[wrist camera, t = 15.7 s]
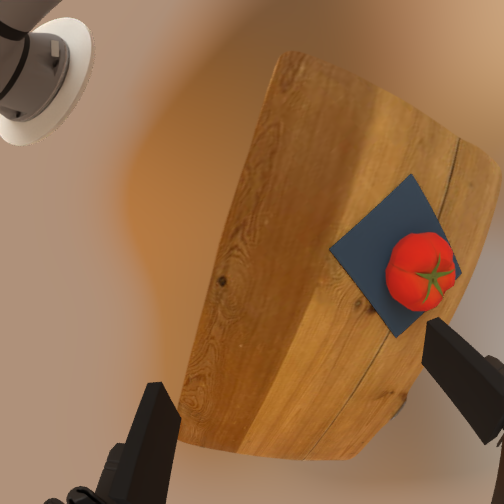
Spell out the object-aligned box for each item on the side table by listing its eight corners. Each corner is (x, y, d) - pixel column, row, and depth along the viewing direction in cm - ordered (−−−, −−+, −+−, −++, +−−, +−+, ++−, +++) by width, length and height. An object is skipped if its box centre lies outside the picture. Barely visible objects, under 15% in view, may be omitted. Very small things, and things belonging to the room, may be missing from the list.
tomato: (409, 307, 39) (434, 330, 32) (363, 275, 37) (387, 297, 30) (446, 251, 37) (476, 266, 29) (404, 211, 35) (436, 220, 28)
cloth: (328, 249, 36) (329, 249, 36) (410, 173, 34) (412, 173, 33) (394, 336, 41) (396, 338, 40) (460, 272, 38) (461, 273, 38)
